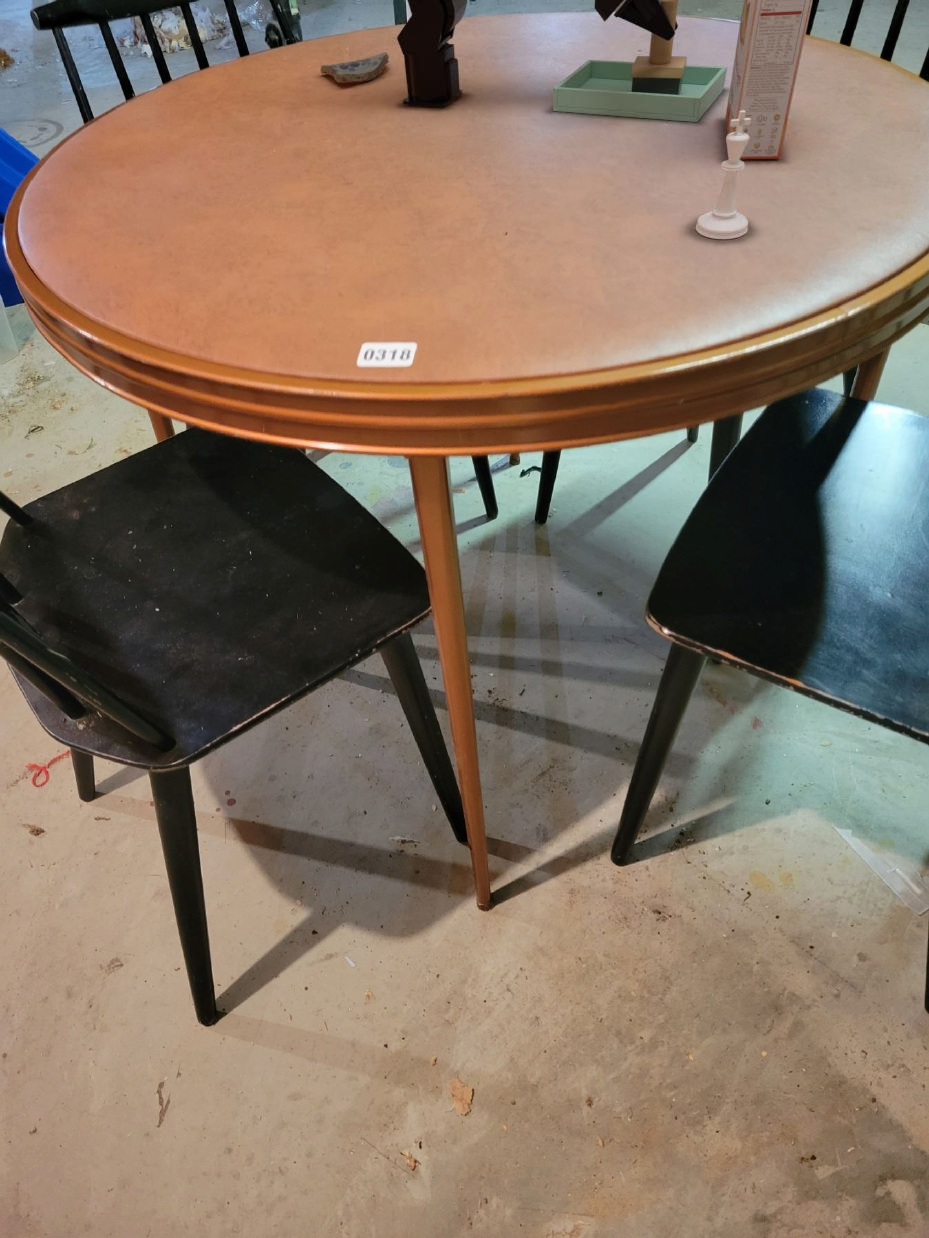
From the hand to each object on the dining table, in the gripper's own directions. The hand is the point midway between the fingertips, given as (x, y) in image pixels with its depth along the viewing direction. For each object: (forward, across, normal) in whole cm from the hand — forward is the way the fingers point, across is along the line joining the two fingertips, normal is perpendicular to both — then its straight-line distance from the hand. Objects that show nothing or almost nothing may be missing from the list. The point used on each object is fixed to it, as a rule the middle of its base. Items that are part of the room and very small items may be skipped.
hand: (673, 34), depth 96 cm
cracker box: (+13, -13, -3) cm, 19 cm away
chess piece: (+12, -38, -2) cm, 40 cm away
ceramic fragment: (-28, +10, +39) cm, 49 cm away
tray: (+3, 0, +8) cm, 8 cm away
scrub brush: (+4, 0, +6) cm, 7 cm away
